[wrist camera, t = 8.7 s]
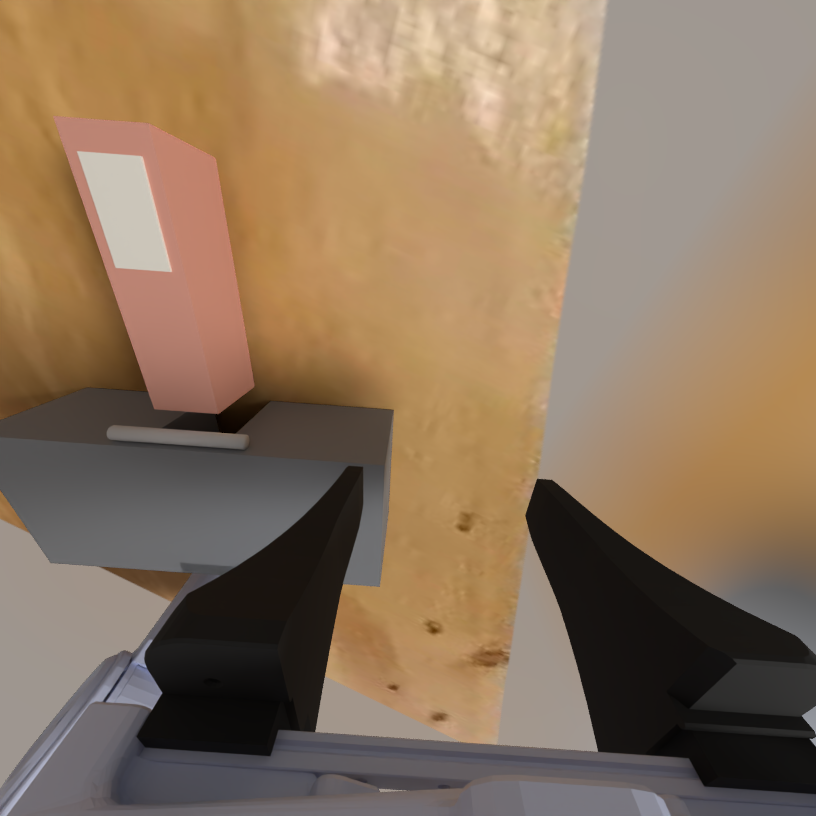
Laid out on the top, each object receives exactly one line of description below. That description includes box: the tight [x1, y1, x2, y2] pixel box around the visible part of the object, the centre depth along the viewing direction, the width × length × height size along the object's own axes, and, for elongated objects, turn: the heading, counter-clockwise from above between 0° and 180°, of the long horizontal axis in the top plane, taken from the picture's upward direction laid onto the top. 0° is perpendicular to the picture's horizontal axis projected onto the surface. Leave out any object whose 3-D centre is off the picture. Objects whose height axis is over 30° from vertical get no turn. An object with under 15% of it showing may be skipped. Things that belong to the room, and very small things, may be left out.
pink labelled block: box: [53, 116, 255, 414], centre depth 15 cm, size 12×4×4 cm, turn 176°
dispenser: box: [0, 388, 394, 587], centre depth 20 cm, size 11×22×6 cm, turn 86°
